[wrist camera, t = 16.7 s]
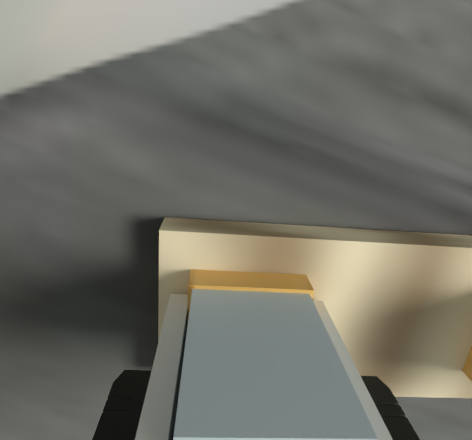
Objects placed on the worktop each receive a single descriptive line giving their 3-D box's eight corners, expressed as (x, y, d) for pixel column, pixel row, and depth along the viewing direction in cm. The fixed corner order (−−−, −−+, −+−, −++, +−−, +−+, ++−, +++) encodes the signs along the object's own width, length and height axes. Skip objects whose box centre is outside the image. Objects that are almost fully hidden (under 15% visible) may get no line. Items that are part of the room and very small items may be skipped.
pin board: (162, 367, 17) (132, 518, 11) (164, 217, 14) (126, 306, 8) (532, 376, 19) (687, 514, 12) (597, 242, 16) (834, 334, 10)
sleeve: (186, 363, 15) (163, 567, 9) (190, 269, 14) (165, 431, 7) (290, 365, 16) (344, 563, 9) (306, 274, 14) (386, 434, 7)
